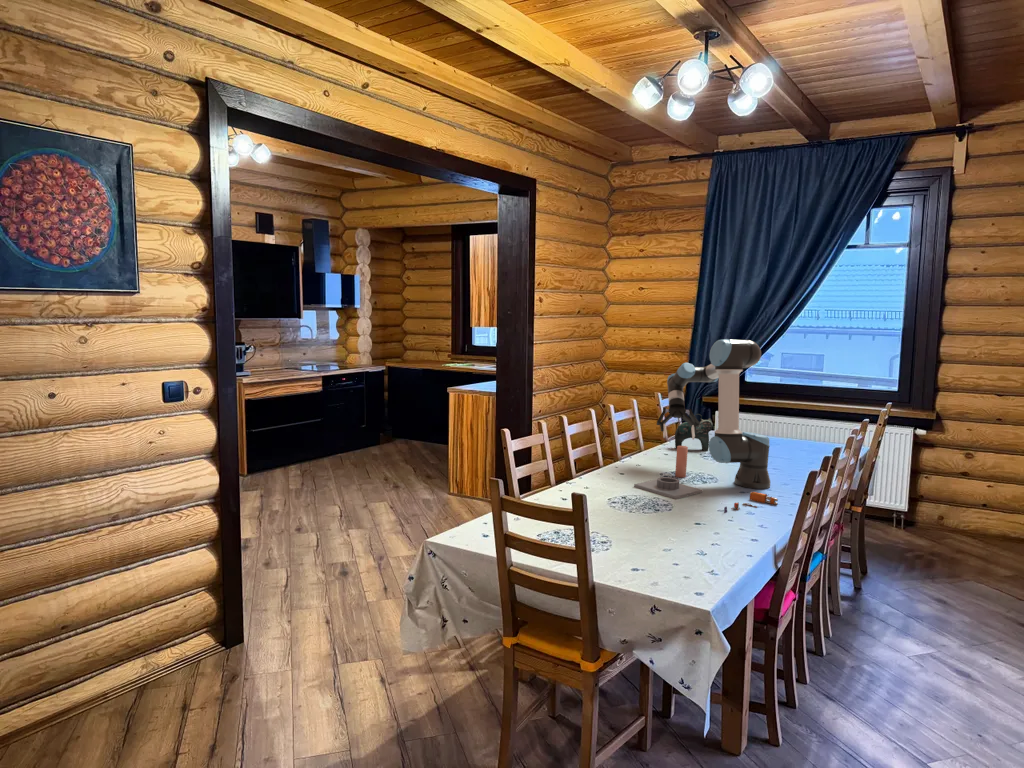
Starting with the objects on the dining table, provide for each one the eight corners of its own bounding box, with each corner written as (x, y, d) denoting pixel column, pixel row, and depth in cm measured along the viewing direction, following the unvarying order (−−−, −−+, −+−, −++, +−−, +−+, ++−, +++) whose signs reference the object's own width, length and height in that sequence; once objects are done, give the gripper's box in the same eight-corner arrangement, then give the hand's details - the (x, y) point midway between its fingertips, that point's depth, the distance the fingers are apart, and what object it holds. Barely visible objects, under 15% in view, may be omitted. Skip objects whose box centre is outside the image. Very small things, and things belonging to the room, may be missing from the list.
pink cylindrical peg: (687, 476, 312) (689, 447, 310) (681, 478, 309) (683, 448, 307) (679, 474, 316) (681, 445, 314) (673, 475, 313) (675, 446, 311)
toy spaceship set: (778, 506, 272) (779, 495, 272) (743, 525, 246) (744, 514, 246) (751, 500, 280) (752, 490, 279) (715, 518, 253) (715, 507, 253)
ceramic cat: (710, 449, 375) (712, 414, 372) (711, 452, 368) (714, 416, 366) (673, 447, 378) (676, 411, 376) (674, 449, 372) (676, 413, 369)
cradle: (702, 492, 286) (702, 482, 286) (676, 499, 275) (676, 489, 274) (660, 480, 303) (660, 471, 302) (634, 486, 291) (634, 477, 291)
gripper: (700, 407, 336) (704, 443, 323) (650, 404, 338) (651, 440, 325) (703, 398, 330) (707, 434, 317) (651, 395, 332) (653, 431, 319)
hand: (679, 437), depth 321 cm, fingers open, 13 cm apart
